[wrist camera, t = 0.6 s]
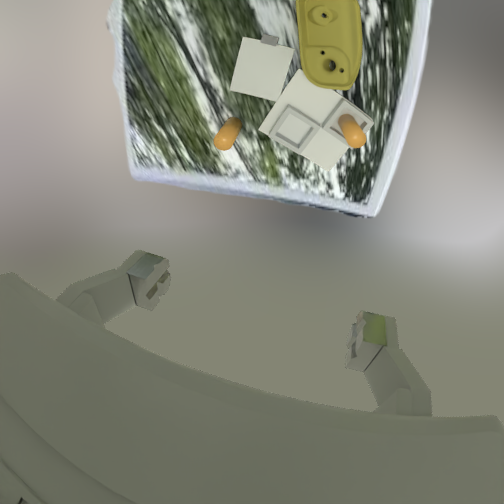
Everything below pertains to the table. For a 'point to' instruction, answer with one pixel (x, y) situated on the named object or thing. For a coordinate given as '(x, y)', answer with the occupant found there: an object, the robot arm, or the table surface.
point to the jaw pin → (228, 133)
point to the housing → (316, 122)
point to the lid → (261, 67)
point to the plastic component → (330, 41)
